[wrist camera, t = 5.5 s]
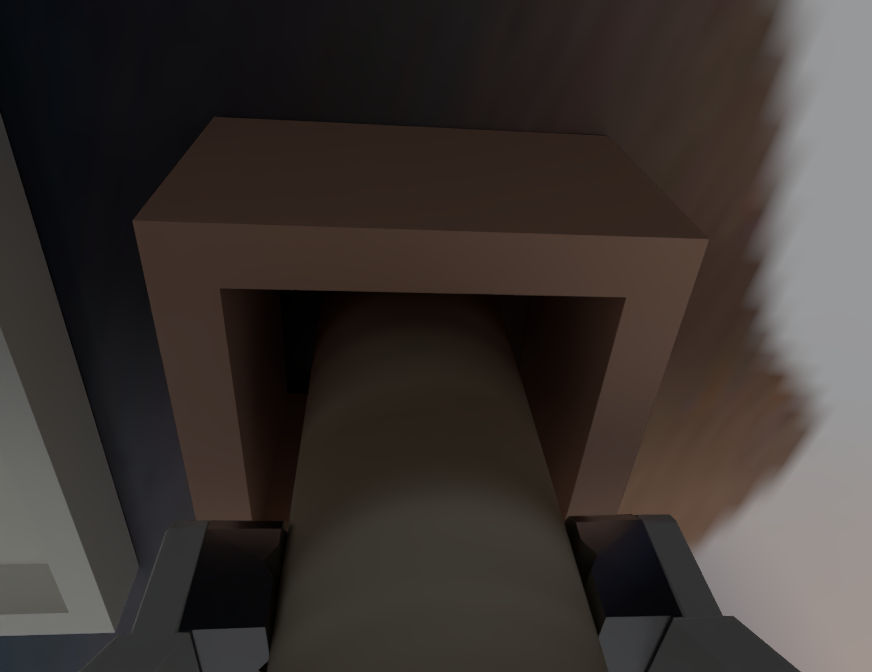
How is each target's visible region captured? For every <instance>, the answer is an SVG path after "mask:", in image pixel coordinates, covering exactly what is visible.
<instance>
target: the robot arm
mask: <svg viewBox="0 0 872 672" xmlns="http://www.w3.org/2000/svg"><path fill="white" fill-rule="evenodd" d="M564 524H565V527H566V531H567V534H568V537H569V541H570V544H571V547H572V551H573V554H574V557H575V561H576V564H577V567H578V571H579V574H580V578H581V581H582V584H583V588H584V591H585V594H586V598H587V601H588V604H589V608H590V611H591V614H592V618H593V621H594V624H595V628H596V631H597V634H598V638H599V641H600V644H601V648H602V651H603V654H604V658H605V661H606V665H607V668H608V671H609V672H800V671H799V670H798V669H797V668H795V667H794V666H793V665H792V664H791V663H789V662H788V661H787V660H786V659H784V658H783V657H782V656H781V655H779V654H778V653H777V652H776V651H775V650H773V649H772V648H771V647H770V646H769V645H768V644H766V643H765V642H764V641H763V640H762V639H760V638H759V637H758V636H757V635H755V634H754V633H753V632H752V631H751V630H749V629H748V628H747V627H746V626H745V625H743V624H742V623H741V622H740V621H739V620H737V619H736V618H735V617H734V616H723V615H722V613H721V611H720V609H719V607H718V605H717V603H716V601H715V599H714V597H713V595H712V593H711V591H710V589H709V587H708V585H707V583H706V581H705V579H704V577H703V575H702V572H701V571H700V568H699V566H698V564H697V562H696V560H695V558H694V556H693V554H692V552H691V550H690V548H689V546H688V544H687V542H686V540H685V538H684V536H683V534H682V532H681V530H680V528H679V526H678V524H677V522H676V520H675V519H674V518H673V517H672V516H671V515H632V514H622V515H585V516H568V518H567V519H566V520H565V521H564ZM286 539H287V527H286V521H243V520H173V522H172V523H171V524H170V526H169V527H168V529H167V530H166V532H165V535H164V538H163V541H162V544H161V546H160V549H159V552H158V555H157V558H156V561H155V564H154V567H153V570H152V572H151V575H150V578H149V581H148V584H147V587H146V590H145V593H144V596H143V599H142V601H141V604H140V607H139V610H138V613H137V616H136V619H135V622H134V625H133V628H132V630H131V633H130V634H118V635H117V636H116V637H115V638H114V639H113V640H112V641H111V642H110V643H109V644H108V645H106V646H105V647H104V648H103V649H102V650H101V651H100V652H99V653H98V654H97V655H96V656H95V657H94V658H93V659H92V660H91V661H90V662H89V663H88V664H87V665H85V666H84V667H83V668H82V669H81V670H80V671H79V672H267V667H268V660H269V655H270V648H271V641H272V634H273V628H274V621H275V614H276V607H277V599H278V592H279V585H280V579H281V573H282V567H283V560H284V553H285V546H286Z"/></svg>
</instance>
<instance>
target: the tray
mask: <svg viewBox="0 0 872 672" xmlns="http://www.w3.org/2000/svg"><path fill="white" fill-rule="evenodd" d="M138 568H139V564H138V561H137V558H136V554H135V551H134V548H133V544H132V541H131V538H130V535H129V531H128V528H127V525H126V522H125V518H124V515H123V512H122V509H121V505H120V502H119V499H118V495H117V492H116V489H115V486H114V482H113V479H112V476H111V473H110V469H109V466H108V463H107V460H106V456H105V453H104V450H103V446H102V443H101V440H100V437H99V433H98V430H97V427H96V424H95V420H94V417H93V414H92V411H91V407H90V404H89V401H88V398H87V394H86V391H85V388H84V384H83V381H82V378H81V375H80V371H79V368H78V365H77V362H76V358H75V355H74V352H73V349H72V345H71V342H70V339H69V335H68V332H67V329H66V326H65V322H64V319H63V316H62V313H61V309H60V306H59V303H58V300H57V296H56V293H55V290H54V286H53V283H52V280H51V277H50V273H49V270H48V267H47V264H46V260H45V257H44V254H43V251H42V247H41V244H40V241H39V237H38V234H37V231H36V228H35V224H34V221H33V218H32V215H31V211H30V208H29V205H28V202H27V198H26V195H25V192H24V188H23V185H22V182H21V179H20V175H19V172H18V169H17V166H16V162H15V159H14V156H13V153H12V149H11V146H10V143H9V139H8V136H7V133H6V130H5V126H4V123H3V120H2V117H1V113H0V636H13V635H47V634H81V633H115V631H116V628H117V626H118V623H119V620H120V617H121V615H122V612H123V609H124V606H125V604H126V601H127V598H128V595H129V593H130V590H131V587H132V584H133V582H134V579H135V576H136V573H137V571H138Z"/></svg>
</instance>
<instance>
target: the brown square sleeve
mask: <svg viewBox="0 0 872 672" xmlns="http://www.w3.org/2000/svg"><path fill="white" fill-rule="evenodd" d="M132 221H133V226H134V231H135V235H136V240H137V245H138V249H139V254H140V259H141V263H142V268H143V273H144V278H145V282H146V287H147V292H148V296H149V301H150V306H151V310H152V315H153V320H154V325H155V329H156V334H157V339H158V343H159V348H160V353H161V357H162V362H163V367H164V372H165V376H166V381H167V386H168V390H169V395H170V400H171V404H172V409H173V414H174V419H175V423H176V428H177V433H178V437H179V442H180V447H181V451H182V456H183V461H184V465H185V470H186V475H187V480H188V484H189V489H190V494H191V498H192V503H193V508H194V512H195V517H196V520H243V521H286V527H287V531H288V525H289V518H290V511H291V504H292V498H293V491H294V484H295V477H296V470H297V464H298V457H299V450H300V443H301V437H302V430H303V423H304V416H305V410H306V403H307V396H308V394H290V393H288V391H287V379H286V366H285V353H284V341H283V328H282V316H281V303H280V291H279V290H319V291H364V292H409V293H453V294H498V295H532V298H531V304H530V310H529V315H528V321H527V327H526V332H525V338H524V344H523V349H522V355H521V361H520V366H519V373H520V377H521V380H522V383H523V387H524V390H525V394H526V397H527V400H528V404H529V407H530V410H531V414H532V417H533V420H534V424H535V427H536V430H537V434H538V437H539V440H540V444H541V447H542V450H543V454H544V457H545V460H546V464H547V467H548V470H549V474H550V477H551V481H552V484H553V487H554V491H555V494H556V497H557V501H558V504H559V507H560V511H561V514H562V517H563V521H565V520H566V519H567V518H568V516H585V515H617V512H618V509H619V506H620V503H621V500H622V497H623V494H624V491H625V488H626V485H627V482H628V479H629V476H630V474H631V471H632V468H633V465H634V462H635V459H636V456H637V453H638V450H639V447H640V444H641V441H642V438H643V435H644V432H645V429H646V426H647V423H648V420H649V417H650V414H651V411H652V408H653V405H654V402H655V399H656V396H657V393H658V390H659V387H660V384H661V381H662V379H663V376H664V373H665V370H666V367H667V364H668V361H669V358H670V355H671V352H672V349H673V346H674V343H675V340H676V337H677V334H678V331H679V328H680V325H681V322H682V319H683V316H684V313H685V310H686V307H687V304H688V301H689V298H690V295H691V292H692V289H693V286H694V284H695V281H696V278H697V275H698V272H699V269H700V266H701V263H702V260H703V257H704V254H705V251H706V248H707V245H708V242H709V238H708V237H707V236H706V235H705V234H704V233H703V232H702V231H701V230H700V229H699V228H698V227H697V226H696V225H695V224H694V223H693V222H692V221H691V220H690V219H689V218H688V217H687V216H686V215H685V214H684V213H683V212H682V211H681V210H680V209H679V208H678V207H677V206H676V205H675V204H674V203H673V202H672V201H671V200H670V199H669V198H668V197H667V196H666V195H665V194H664V193H663V192H662V191H661V190H660V189H659V188H658V187H657V186H656V185H655V184H654V183H653V182H652V181H651V180H650V179H649V178H648V177H647V176H646V175H645V174H644V173H643V172H642V171H641V170H640V169H639V168H638V167H637V166H636V164H635V163H634V162H633V161H632V160H631V159H630V158H629V157H628V156H627V155H626V154H625V153H624V152H623V151H622V150H621V149H620V148H619V147H618V146H617V145H616V144H615V143H614V142H613V141H612V140H611V139H610V138H609V137H608V136H602V135H581V134H560V133H539V132H519V131H498V130H477V129H457V128H436V127H415V126H395V125H374V124H353V123H332V122H312V121H291V120H270V119H250V118H229V117H214V118H213V119H212V120H211V121H210V123H209V124H208V125H207V126H206V128H205V129H204V130H203V132H202V133H201V134H200V135H199V137H198V138H197V139H196V140H195V142H194V143H193V144H192V145H191V147H190V148H189V149H188V151H187V152H186V153H185V154H184V156H183V157H182V158H181V159H180V161H179V162H178V163H177V165H176V166H175V167H174V168H173V170H172V171H171V172H170V173H169V175H168V176H167V177H166V179H165V180H164V181H163V182H162V184H161V185H160V186H159V187H158V189H157V190H156V191H155V192H154V194H153V195H152V196H151V198H150V199H149V200H148V201H147V203H146V204H145V205H144V206H143V208H142V209H141V210H140V212H139V213H138V214H137V215H136V217H135V218H134V219H133V220H132Z"/></svg>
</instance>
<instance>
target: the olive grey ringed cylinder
mask: <svg viewBox="0 0 872 672" xmlns="http://www.w3.org/2000/svg"><path fill="white" fill-rule="evenodd" d="M267 672H609V671H608V668H607V665H606V661H605V658H604V654H603V651H602V648H601V644H600V641H599V638H598V634H597V631H596V628H595V624H594V621H593V618H592V614H591V611H590V608H589V604H588V601H587V598H586V594H585V591H584V588H583V584H582V581H581V578H580V574H579V571H578V567H577V564H576V561H575V557H574V554H573V551H572V547H571V544H570V541H569V537H568V534H567V531H566V527H565V524H564V521H563V517H562V514H561V511H560V507H559V504H558V501H557V497H556V494H555V491H554V487H553V484H552V481H551V477H550V474H549V470H548V467H547V464H546V460H545V457H544V454H543V450H542V447H541V444H540V440H539V437H538V434H537V430H536V427H535V424H534V420H533V417H532V414H531V410H530V407H529V404H528V400H527V397H526V394H525V390H524V387H523V383H522V380H521V377H520V373H519V370H518V367H517V363H516V360H515V357H514V353H513V350H512V347H511V343H510V340H509V337H508V333H507V330H506V327H505V323H504V320H503V317H502V313H501V310H500V307H499V303H498V300H497V297H496V294H453V293H409V292H364V291H323V295H322V301H321V308H320V315H319V322H318V328H317V335H316V342H315V349H314V356H313V362H312V369H311V376H310V383H309V389H308V396H307V403H306V410H305V416H304V423H303V430H302V437H301V443H300V450H299V457H298V464H297V470H296V477H295V484H294V491H293V498H292V504H291V511H290V518H289V525H288V531H287V539H286V546H285V553H284V560H283V567H282V573H281V579H280V585H279V592H278V599H277V607H276V614H275V621H274V628H273V634H272V641H271V648H270V655H269V660H268V667H267Z"/></svg>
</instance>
